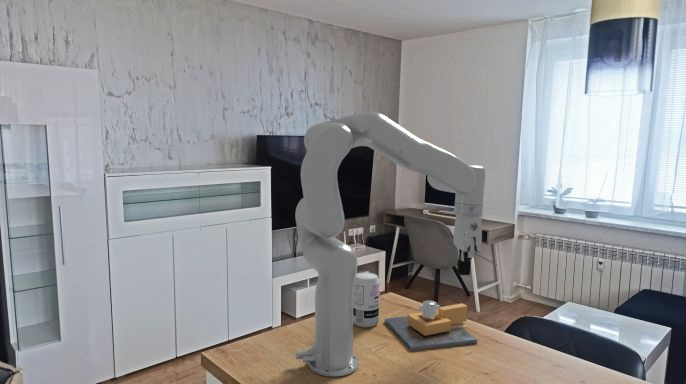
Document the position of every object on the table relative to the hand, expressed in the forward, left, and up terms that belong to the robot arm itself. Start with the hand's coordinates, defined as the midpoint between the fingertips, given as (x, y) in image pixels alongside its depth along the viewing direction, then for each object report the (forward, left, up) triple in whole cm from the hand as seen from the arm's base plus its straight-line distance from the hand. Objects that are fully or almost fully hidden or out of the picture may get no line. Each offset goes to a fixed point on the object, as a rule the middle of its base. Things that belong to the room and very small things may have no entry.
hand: (463, 274), depth 130 cm
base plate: (-7, +6, -19) cm, 21 cm away
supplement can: (-23, +17, -19) cm, 34 cm away
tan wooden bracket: (-3, +7, -17) cm, 19 cm away
